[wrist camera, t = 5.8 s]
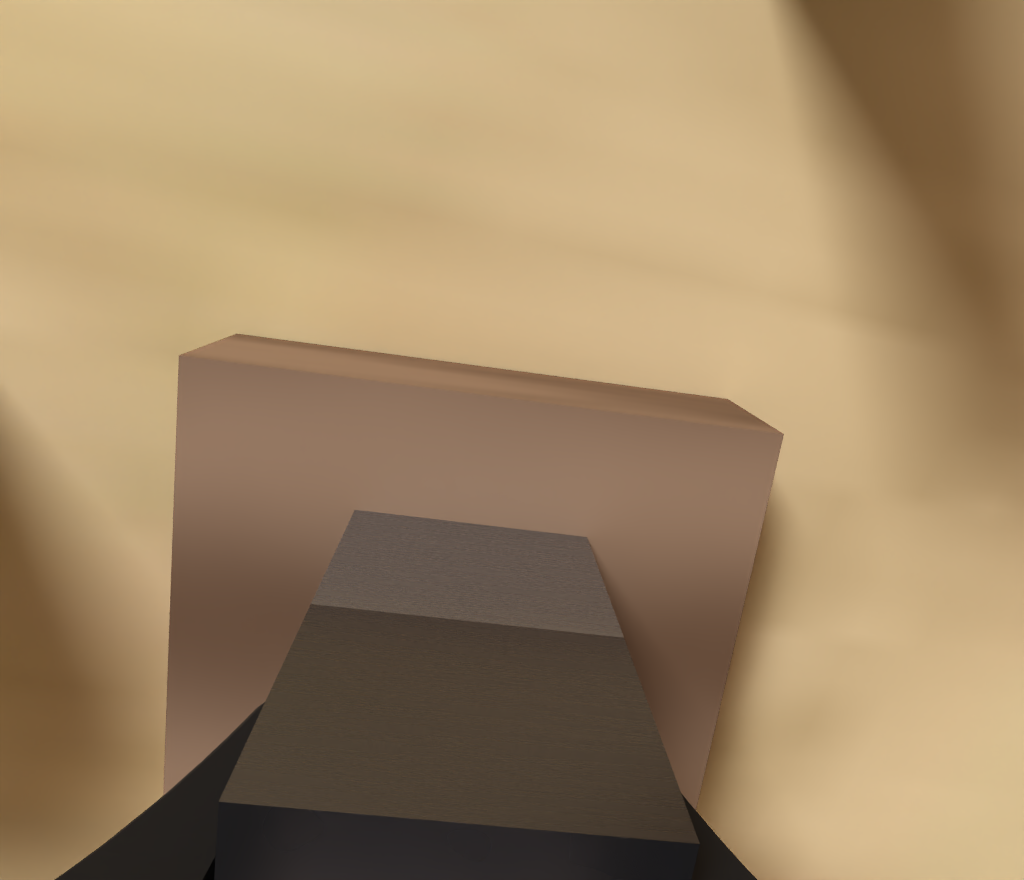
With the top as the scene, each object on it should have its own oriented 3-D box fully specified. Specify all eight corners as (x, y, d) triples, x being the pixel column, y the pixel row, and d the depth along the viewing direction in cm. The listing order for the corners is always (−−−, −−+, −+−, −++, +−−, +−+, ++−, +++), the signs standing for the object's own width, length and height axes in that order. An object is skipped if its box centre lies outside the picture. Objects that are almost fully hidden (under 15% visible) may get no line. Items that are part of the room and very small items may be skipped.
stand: (640, 807, 18) (671, 914, 15) (213, 768, 18) (160, 873, 15) (728, 398, 16) (783, 434, 13) (236, 333, 15) (179, 355, 12)
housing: (535, 827, 15) (595, 1444, 7) (326, 809, 14) (157, 1432, 7) (587, 537, 13) (730, 924, 6) (354, 509, 13) (181, 882, 5)
